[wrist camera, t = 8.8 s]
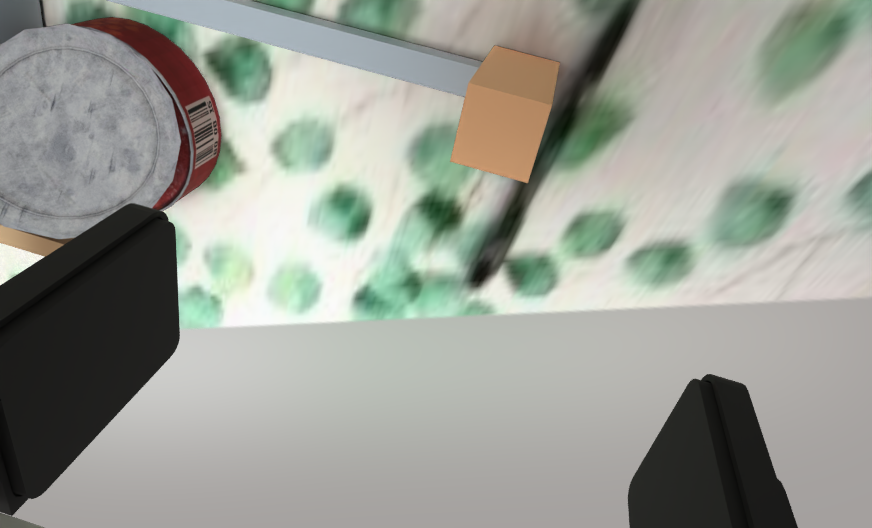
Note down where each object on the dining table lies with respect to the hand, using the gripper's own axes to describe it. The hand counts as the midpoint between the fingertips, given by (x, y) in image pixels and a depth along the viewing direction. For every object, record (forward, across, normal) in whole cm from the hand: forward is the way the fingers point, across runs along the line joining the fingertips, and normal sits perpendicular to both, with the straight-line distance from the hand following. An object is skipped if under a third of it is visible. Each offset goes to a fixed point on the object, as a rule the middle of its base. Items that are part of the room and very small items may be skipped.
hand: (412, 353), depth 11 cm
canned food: (+20, +20, +7) cm, 29 cm away
